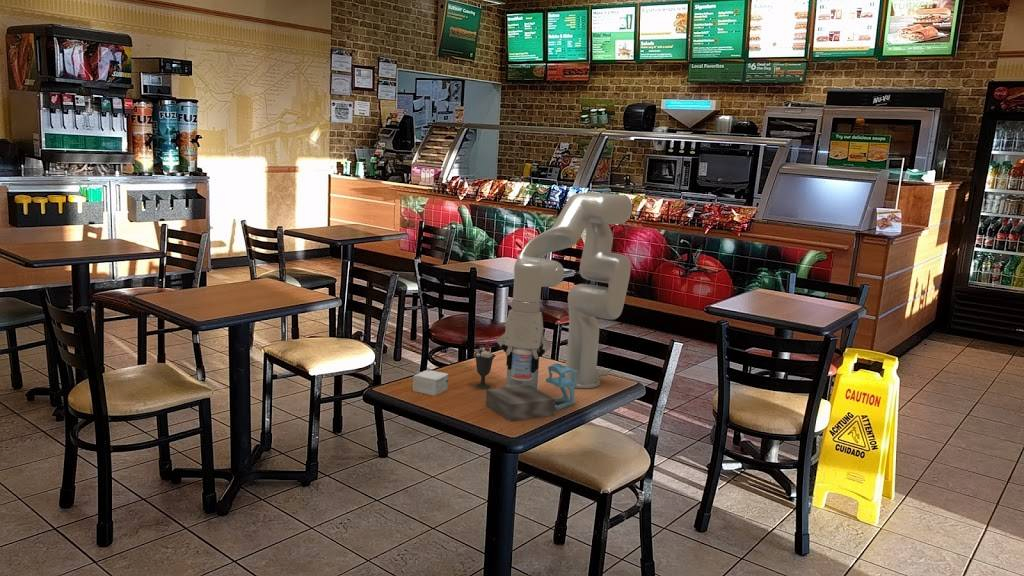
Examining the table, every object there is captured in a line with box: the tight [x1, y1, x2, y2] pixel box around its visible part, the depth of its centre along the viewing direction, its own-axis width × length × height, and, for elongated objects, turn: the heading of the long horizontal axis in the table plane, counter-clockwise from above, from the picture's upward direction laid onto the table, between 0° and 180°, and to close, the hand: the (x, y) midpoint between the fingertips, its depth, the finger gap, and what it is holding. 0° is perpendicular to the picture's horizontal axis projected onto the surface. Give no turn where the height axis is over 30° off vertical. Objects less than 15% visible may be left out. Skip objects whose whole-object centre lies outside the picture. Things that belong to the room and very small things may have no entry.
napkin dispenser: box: [505, 365, 540, 390], centre depth 234 cm, size 5×10×10 cm, turn 29°
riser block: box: [485, 385, 556, 422], centre depth 218 cm, size 14×14×5 cm
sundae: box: [473, 340, 497, 390], centre depth 237 cm, size 7×7×15 cm
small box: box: [412, 369, 449, 397], centre depth 231 cm, size 8×8×5 cm
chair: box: [545, 362, 577, 411], centre depth 225 cm, size 8×8×12 cm
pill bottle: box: [511, 347, 534, 381], centre depth 216 cm, size 6×6×11 cm
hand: (522, 369), depth 216 cm, fingers closed on pill bottle, 6 cm apart
